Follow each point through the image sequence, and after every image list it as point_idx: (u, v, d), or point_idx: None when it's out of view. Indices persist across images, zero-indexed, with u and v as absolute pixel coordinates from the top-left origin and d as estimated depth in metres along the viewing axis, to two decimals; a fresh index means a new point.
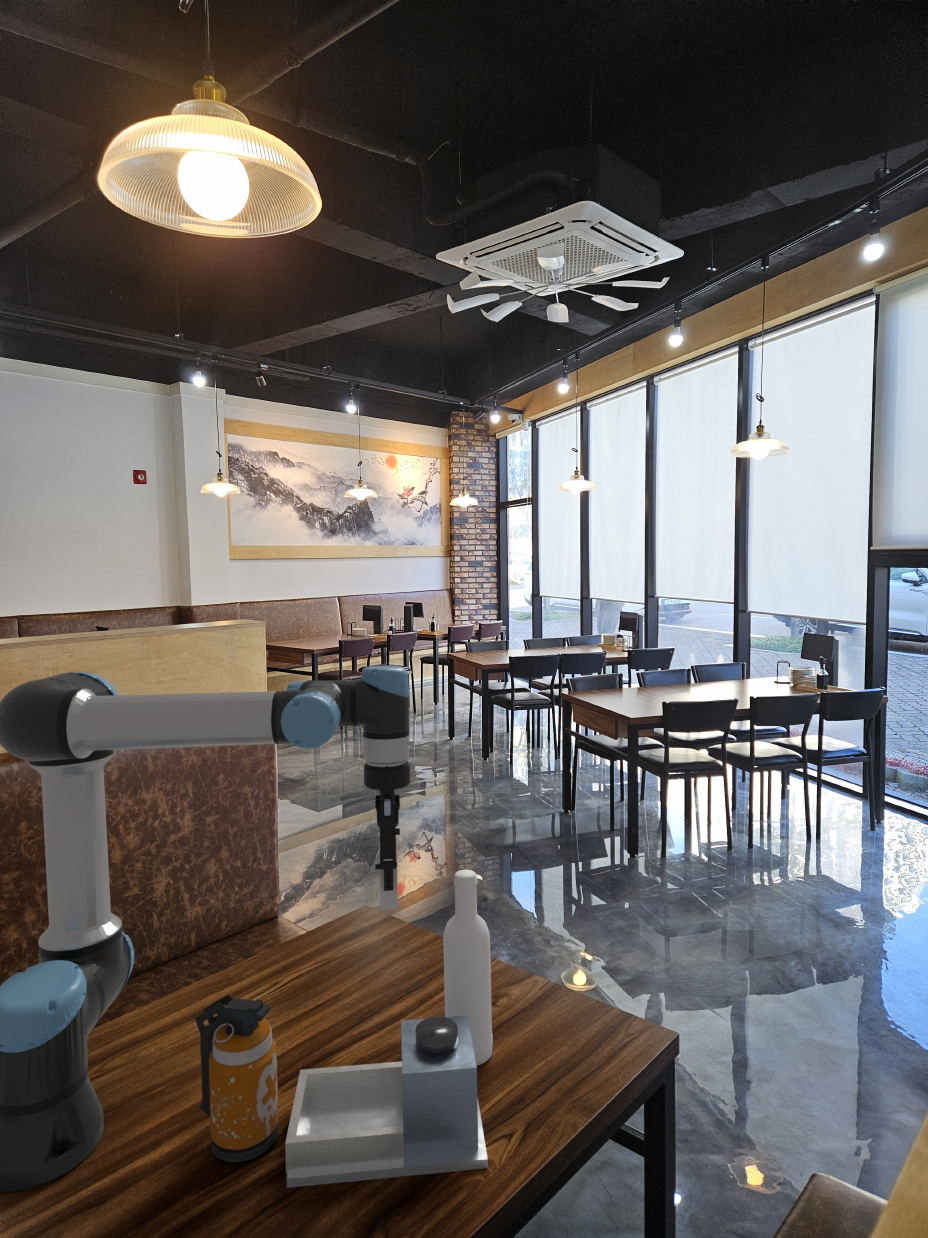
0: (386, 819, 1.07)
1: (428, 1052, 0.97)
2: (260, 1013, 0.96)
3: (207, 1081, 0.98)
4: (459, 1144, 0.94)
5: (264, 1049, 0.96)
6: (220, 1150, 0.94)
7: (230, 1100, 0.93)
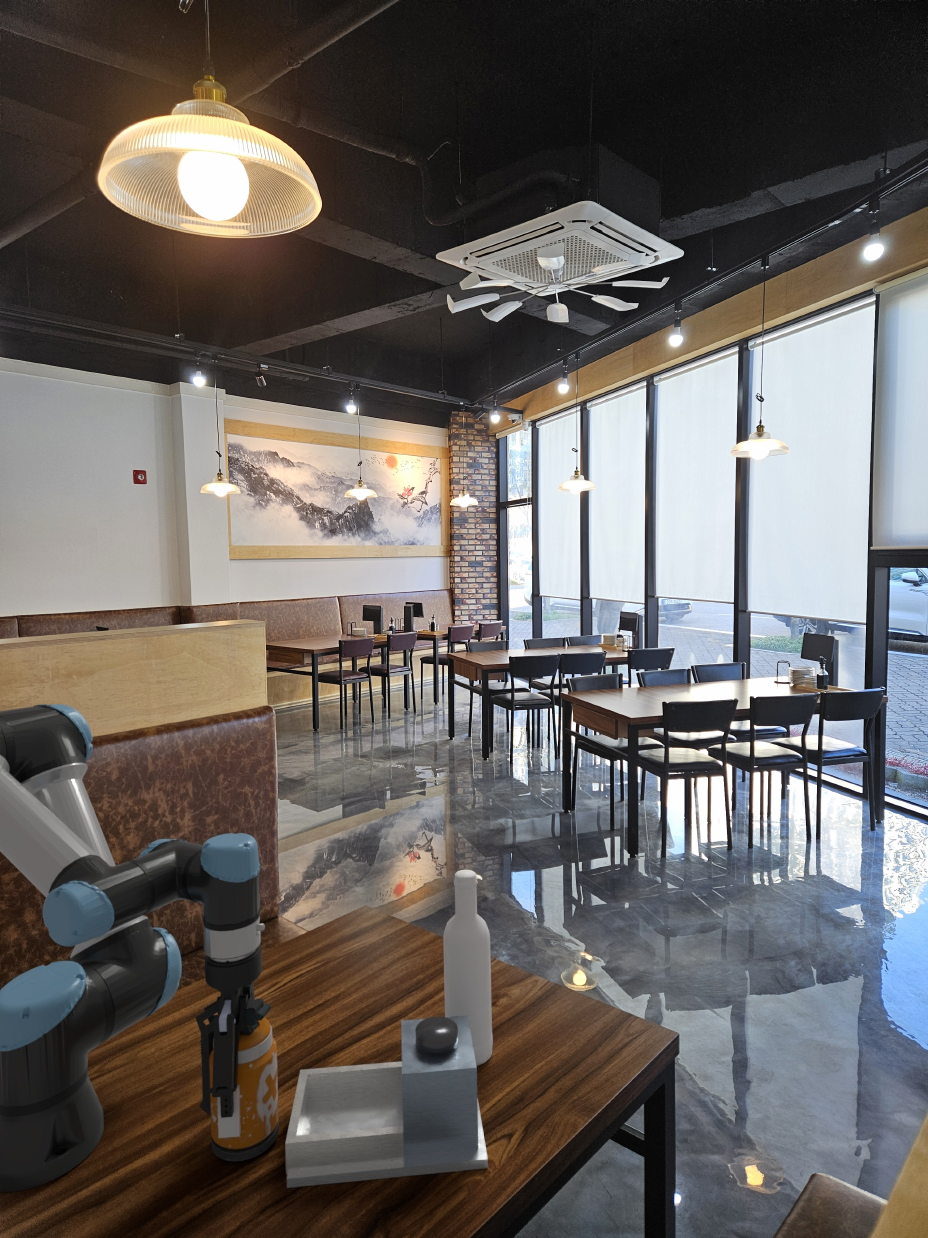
0: (221, 1037, 0.91)
1: (428, 1052, 0.97)
2: (260, 1012, 0.96)
3: (207, 1080, 0.98)
4: (459, 1144, 0.94)
5: (264, 1048, 0.96)
6: (220, 1149, 0.94)
7: None
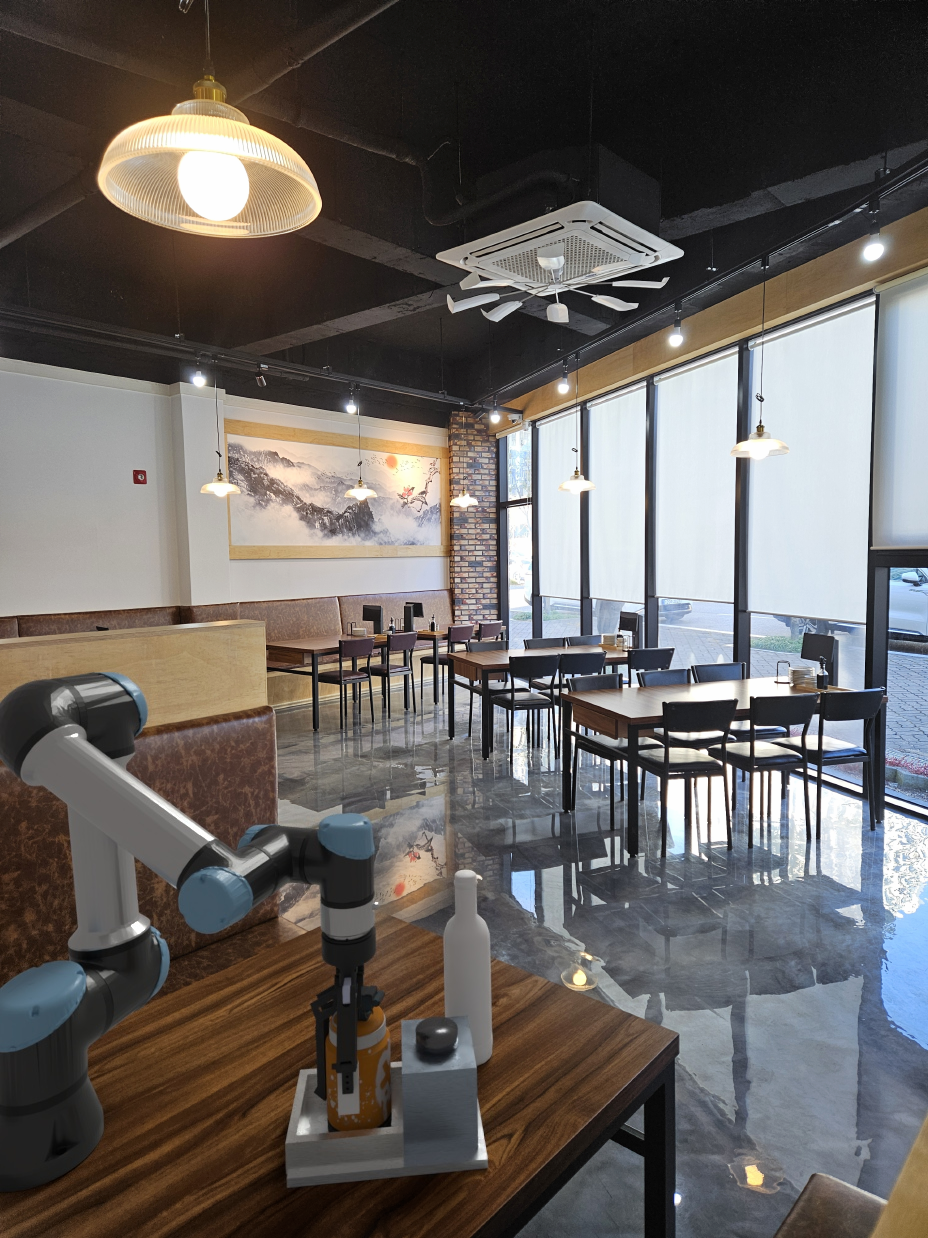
0: (345, 1008, 0.91)
1: (428, 1052, 0.97)
2: (377, 998, 0.97)
3: (322, 1066, 0.98)
4: (459, 1144, 0.94)
5: (381, 1034, 0.97)
6: None
7: None
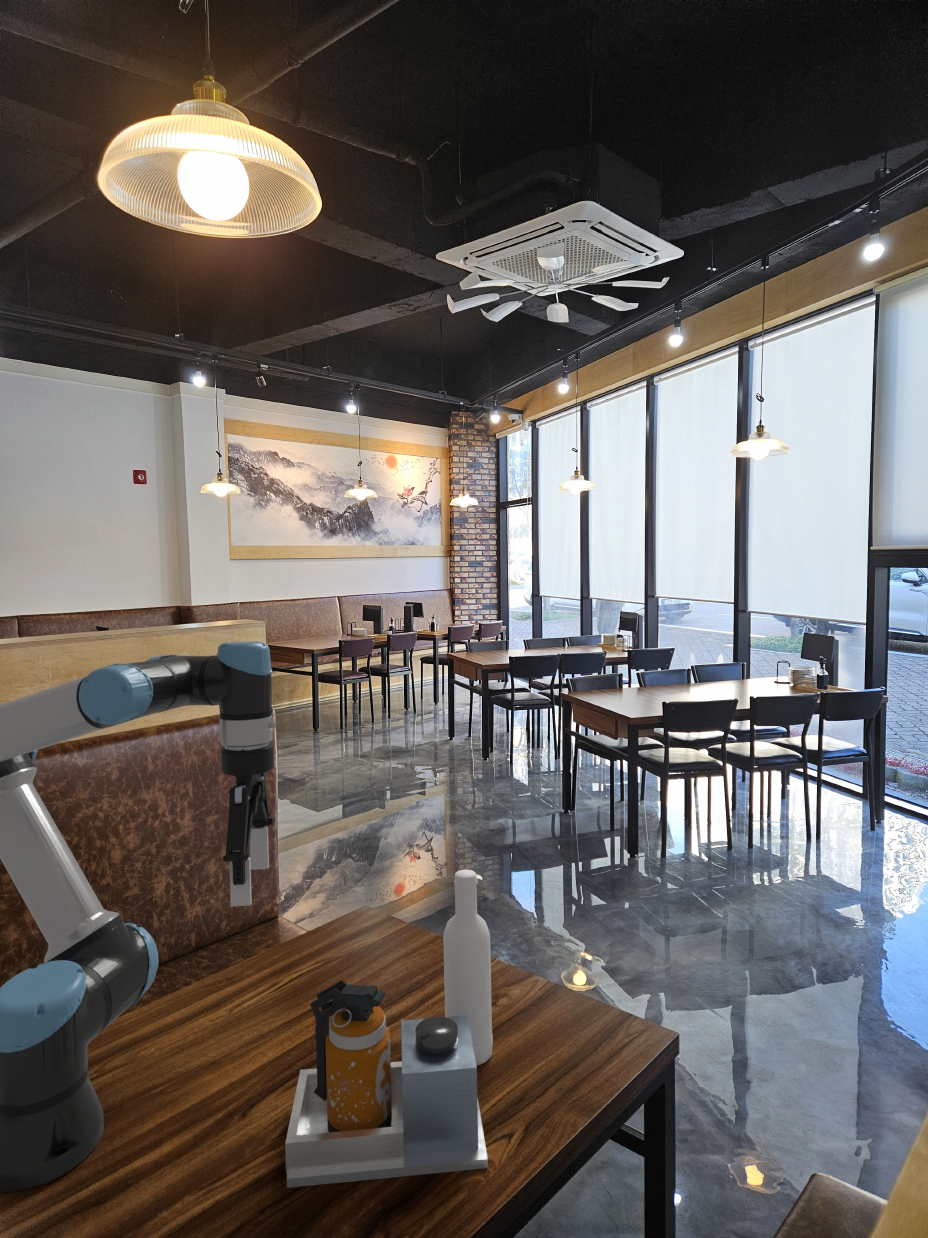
0: (236, 807, 0.98)
1: (428, 1052, 0.97)
2: (377, 998, 0.97)
3: (322, 1066, 0.99)
4: (459, 1144, 0.94)
5: (381, 1034, 0.97)
6: None
7: (351, 1084, 0.94)
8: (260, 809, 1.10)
